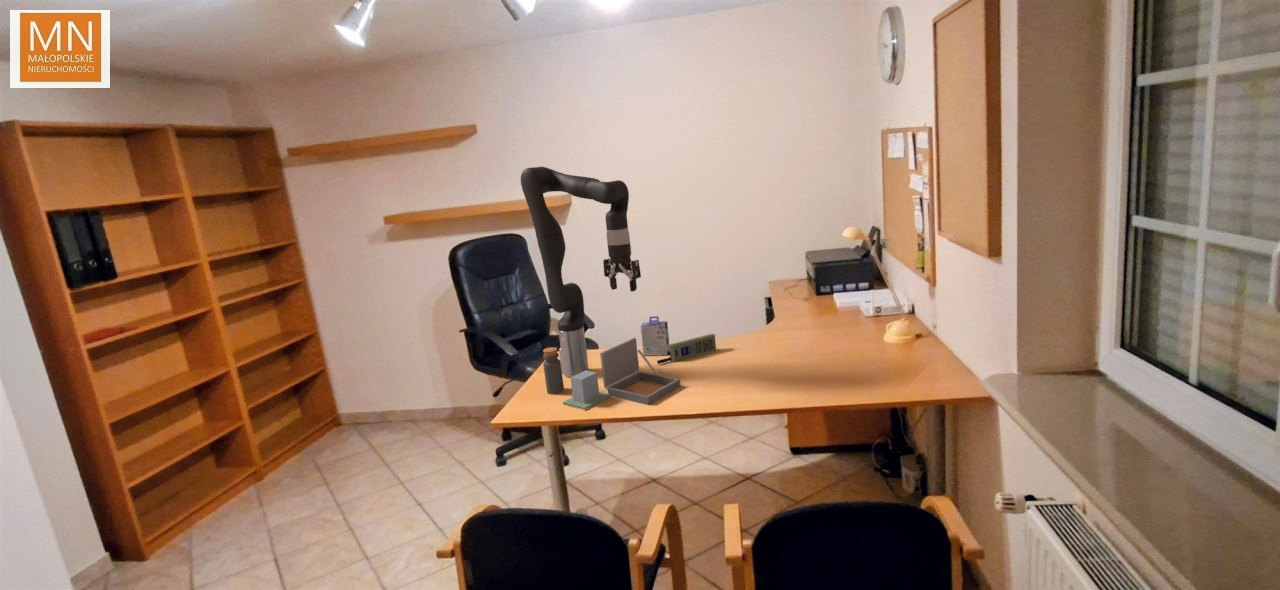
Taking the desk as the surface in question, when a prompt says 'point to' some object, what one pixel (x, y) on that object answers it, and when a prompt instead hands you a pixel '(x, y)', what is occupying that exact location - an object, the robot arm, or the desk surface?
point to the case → (631, 374)
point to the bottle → (553, 371)
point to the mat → (588, 404)
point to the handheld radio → (690, 348)
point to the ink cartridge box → (655, 337)
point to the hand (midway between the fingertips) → (623, 290)
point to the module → (585, 386)
